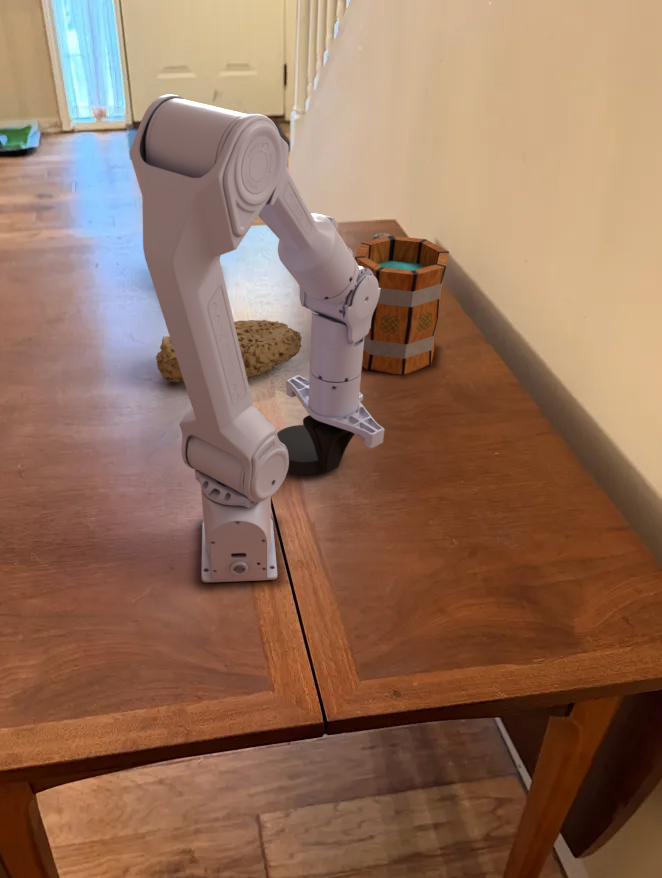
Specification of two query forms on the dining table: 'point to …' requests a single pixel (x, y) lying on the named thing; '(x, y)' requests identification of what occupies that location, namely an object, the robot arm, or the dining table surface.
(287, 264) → the robot arm
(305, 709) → the dining table surface
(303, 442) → the puck
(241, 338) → the sponge
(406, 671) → the dining table surface
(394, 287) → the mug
